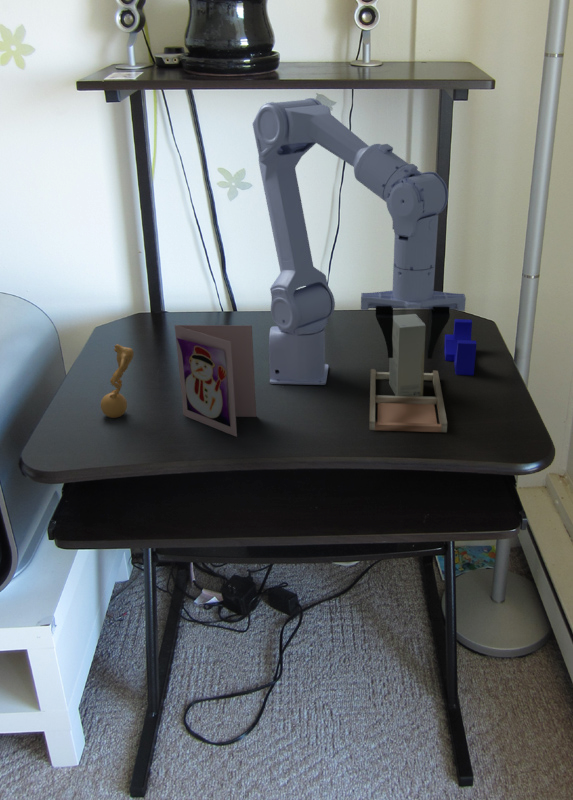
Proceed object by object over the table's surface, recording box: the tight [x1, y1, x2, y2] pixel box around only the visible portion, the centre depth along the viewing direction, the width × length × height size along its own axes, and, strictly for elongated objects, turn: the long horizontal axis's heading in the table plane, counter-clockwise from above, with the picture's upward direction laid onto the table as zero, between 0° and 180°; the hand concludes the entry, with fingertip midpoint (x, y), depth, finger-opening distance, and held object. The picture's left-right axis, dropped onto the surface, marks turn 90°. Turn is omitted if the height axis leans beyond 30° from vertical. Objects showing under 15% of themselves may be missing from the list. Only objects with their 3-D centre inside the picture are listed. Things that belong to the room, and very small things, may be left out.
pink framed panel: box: [368, 368, 448, 433], centre depth 116 cm, size 11×19×2 cm, turn 174°
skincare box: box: [388, 313, 427, 396], centre depth 118 cm, size 6×4×12 cm
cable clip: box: [443, 318, 477, 376], centre depth 129 cm, size 12×4×6 cm, turn 171°
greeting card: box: [174, 324, 257, 438], centre depth 109 cm, size 11×7×15 cm, turn 50°
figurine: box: [100, 343, 135, 419], centre depth 112 cm, size 8×6×12 cm
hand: (409, 355), depth 108 cm, fingers open, 5 cm apart
